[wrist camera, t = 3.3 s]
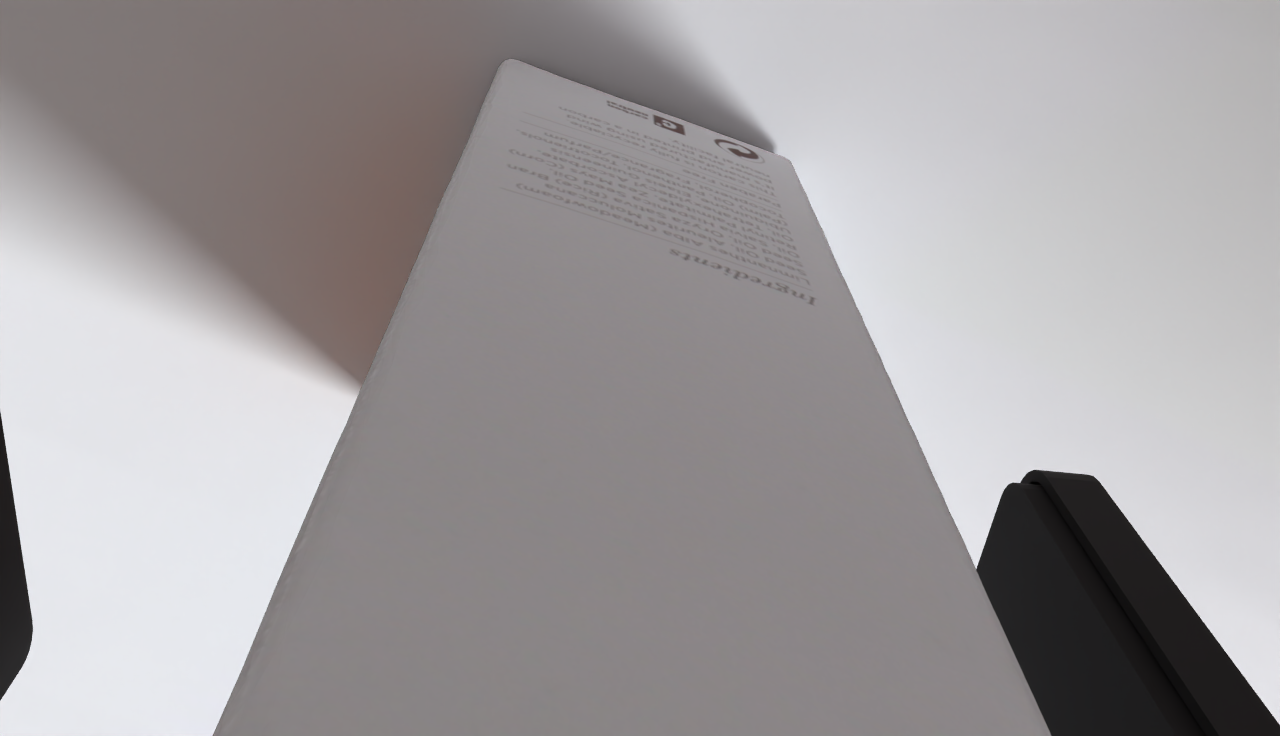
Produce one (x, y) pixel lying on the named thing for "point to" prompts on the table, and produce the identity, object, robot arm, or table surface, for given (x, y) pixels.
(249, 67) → the table surface
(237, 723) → the skincare box
